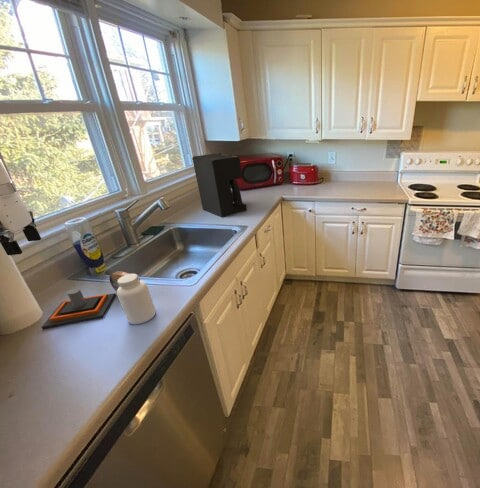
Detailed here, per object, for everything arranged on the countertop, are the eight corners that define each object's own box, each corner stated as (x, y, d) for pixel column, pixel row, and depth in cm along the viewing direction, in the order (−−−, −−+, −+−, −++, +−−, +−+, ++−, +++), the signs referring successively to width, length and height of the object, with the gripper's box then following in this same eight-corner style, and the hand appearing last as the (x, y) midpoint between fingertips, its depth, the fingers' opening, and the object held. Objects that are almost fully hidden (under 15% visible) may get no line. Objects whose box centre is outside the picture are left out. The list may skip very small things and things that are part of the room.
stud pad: (61, 317, 90) (51, 299, 87) (69, 305, 95) (61, 288, 92) (94, 311, 92) (86, 293, 89) (100, 300, 98) (93, 283, 94)
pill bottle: (123, 326, 87) (106, 286, 80) (133, 310, 94) (119, 272, 87) (151, 323, 88) (137, 283, 82) (159, 307, 95) (146, 269, 89)
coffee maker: (251, 211, 185) (244, 156, 170) (225, 219, 172) (215, 160, 157) (228, 203, 202) (219, 152, 187) (202, 209, 189) (191, 156, 174)
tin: (112, 291, 104) (104, 271, 101) (121, 286, 107) (113, 267, 103) (140, 300, 99) (133, 280, 95) (148, 295, 102) (141, 275, 98)
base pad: (42, 329, 86) (39, 323, 85) (63, 304, 97) (60, 299, 96) (103, 317, 91) (100, 312, 90) (116, 295, 102) (114, 290, 101)
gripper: (-1, 184, 82) (27, 237, 90) (-49, 200, 67) (-12, 262, 75) (31, 182, 84) (55, 234, 92) (-9, 197, 69) (24, 258, 77)
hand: (25, 247), depth 83 cm, fingers open, 9 cm apart
